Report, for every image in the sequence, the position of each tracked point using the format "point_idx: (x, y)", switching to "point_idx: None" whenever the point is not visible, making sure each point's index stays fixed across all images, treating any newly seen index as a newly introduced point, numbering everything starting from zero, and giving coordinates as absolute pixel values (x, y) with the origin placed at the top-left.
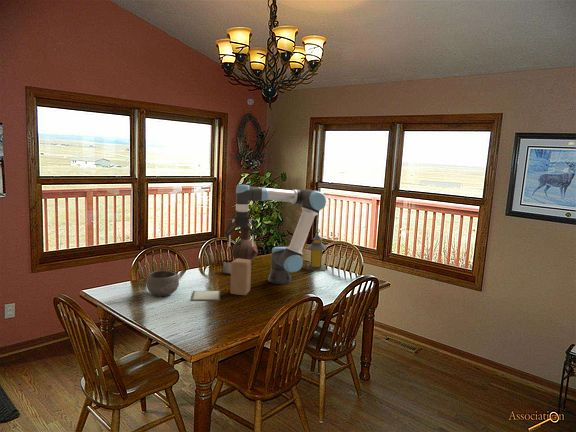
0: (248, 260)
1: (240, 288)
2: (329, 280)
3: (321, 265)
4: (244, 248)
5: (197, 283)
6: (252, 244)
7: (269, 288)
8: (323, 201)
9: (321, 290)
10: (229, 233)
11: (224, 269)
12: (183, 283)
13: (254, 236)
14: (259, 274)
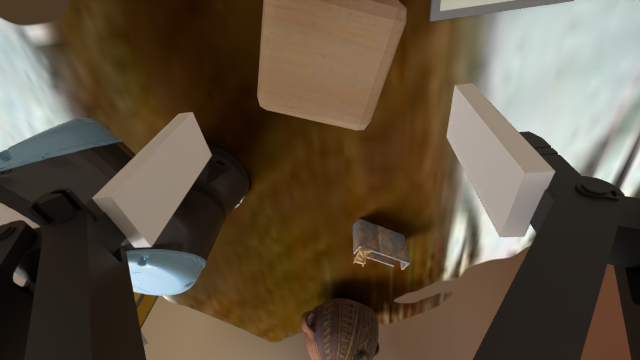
0: (268, 74)
1: None
2: None
3: None
4: (341, 334)
5: (517, 125)
6: (175, 124)
7: (221, 91)
8: None
9: (27, 87)
10: (580, 211)
11: (401, 242)
12: (580, 120)
13: (98, 206)
14: (288, 225)
